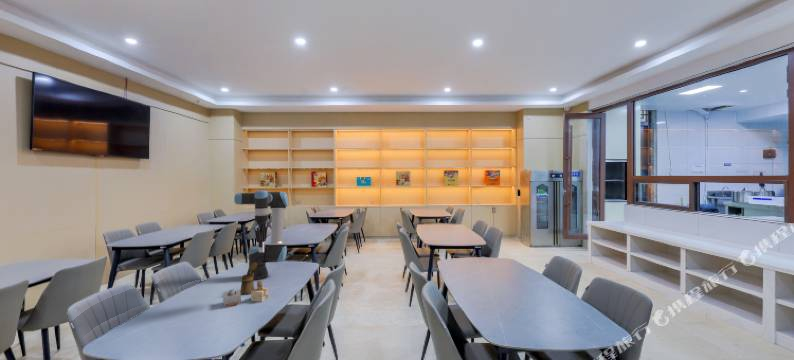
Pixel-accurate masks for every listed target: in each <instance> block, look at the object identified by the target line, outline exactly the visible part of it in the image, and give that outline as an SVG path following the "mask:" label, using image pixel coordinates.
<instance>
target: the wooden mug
mask: <svg viewBox="0 0 794 360" xmlns="http://www.w3.org/2000/svg"><path fill="white" fill-rule="evenodd" d="M257 267H258V263H257V262H253V263H252V264H251V265H250V267H249V266H248V269H249V271H250V273H249V274H247V273H246V274H243V275H242V277H241V280H240V281H241V284H240V285H241V286H240V289H239V290H240V293H241V296H245V295H246V296H248V295H251V291H253V290H254V289H256V288H255V285H254V280H253V278H254V273H253V272H254V271H255V270H256V269H257Z"/></svg>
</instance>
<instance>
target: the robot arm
mask: <svg viewBox="0 0 794 360" xmlns="http://www.w3.org/2000/svg"><path fill="white" fill-rule="evenodd" d="M233 198H234V204H235V205H254V221H255V222H256V225H255V226H254V227H253V230H254V233H255V240H256V242H257V243H258V245H254V246H252V247H250V248H249V250H248V270H247V273H246V275H247V274H249V273H250V271H249V267H250V265H251V264H252V263H253V262H257V263H258V267H257V269H256V270H255V271H254V272H253V273H254V278H253V281H257V280H263V279H265V278H267V277H268V276H269V271H268V267H267V265H266V264H267V263H282V262H284V261H285V260H286V257H287V251H288V248H287V246H286V243H284V214H285V210H286V209H287V208H288V206H289V198H288V194H287V192H285V191H268V190H263V189H262V190H261V189H260V190H256V191H254V192H237V193H235V195H234V197H233ZM268 208H269V209H270V210H271V229H270V230H271V233H270V234H271V235H270V243H269V244H268V246H266V244H265V242H267V237H268V236H267V235H268V228H269V224H267V221H268V220H269V216H268V215H269V209H268Z"/></svg>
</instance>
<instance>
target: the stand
mask: <svg viewBox="0 0 794 360" xmlns="http://www.w3.org/2000/svg"><path fill="white" fill-rule="evenodd" d="M256 281H257V280H256ZM268 298H269V287H263V280H258V281H257V282H256V288H255V289H254V290H253V291H251V294H250V302H256V303H257V302H260V303H262V302H264V301H266V299H268Z"/></svg>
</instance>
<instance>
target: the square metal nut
mask: <svg viewBox="0 0 794 360" xmlns="http://www.w3.org/2000/svg"><path fill="white" fill-rule="evenodd" d="M240 290H241V289H238V290H235V295H229V291H226V292H225V291H224V292H223V294H222V301H223V302H222V303H223V306H225V304H230V303H235V302H239V303H240V302H241V301H242V300H241V299H242V298H241V297H242V295H241V293H240Z"/></svg>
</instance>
